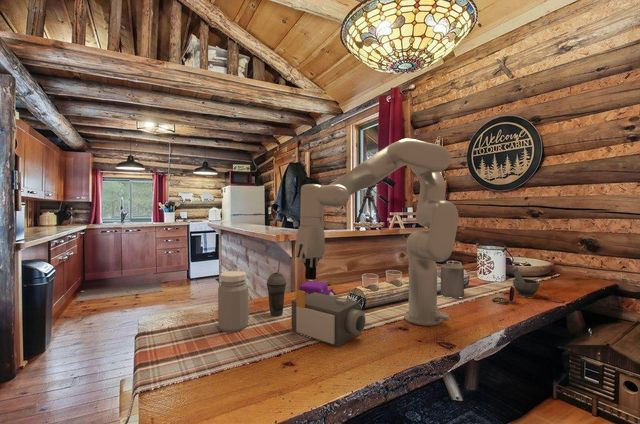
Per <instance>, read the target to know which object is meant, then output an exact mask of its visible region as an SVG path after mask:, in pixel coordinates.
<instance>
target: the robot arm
mask: <svg viewBox="0 0 640 424" xmlns="http://www.w3.org/2000/svg"><path fill="white" fill-rule="evenodd" d="M451 157H452V156H451V153H450V151H449V150H448V149H447V148H446V147H445V146H443V145H439V144H435V143H431V142H427V141H424V140H418V139H414V138H402V139H400V140H398V141H395V142H393V143H390V144H389V145H387V146H385V147H384V148H383V149H381V150H379V151H378V152H376V153H375V154H373V155H372V156H370V157H369V158H367V159H366V160H364V161H362V162H361V163H359V164H358V165H356V166H355V167H354V168H352V169H351V170H350V171H348V172H346V173H345V174H343V175H342V176H340V177H338V178H337V179H336V180H334V181H332V182H330V183H329V184H317V183H307V184H306V183H305V184H303V185H302V186H301V187H300V216H299V219H300V221H299V222H300V223H299V226H298V229H297V234H296V241H295V257H297V258H298V262H299V263H301V264H303V265H304V267H305V271H304V273H305V279H306V280H308V281H309V280H313V281H314V280H316V279H317V267H318V263H319V262H320V261H321V260H322V259H323V256H324V255H325V248H326V244H325V243H326V242H325V241H326V240H325V238H326V237H325V229H324V215H325V214H324V212H325V211H324V210H325V209H324V208H325V207H327V208H333V209H334V208H342V207H344V206H345V205H347V203H349V200H350V196H352V195H354V194H356V193H357V192H359V191H361V190H364V189H367V188H370V187H372V186H374V185H377V184H378V183H379V182H381V181H382V180H383V179H385V178H386V177H388V176H389V175H391V174H392V173H394V172H395V171H397V170H398V169H400V168H402V167H405V166H408V165H409V167H410V170H411V171H412V172H413V174H414V175H415V176H416V178H417V179H418V181H419V184H420V185H419V187H420V188H419V196H418V200H417V206H416V211H415V220H416V222H417V224H418V225H420V226H422V227H424V228H429V230H414V232H412V233H411V234H409V235H408V237H407V240H406V245H405V246H406V252H407V261H408V311H406V312H405V313H404V314H403V316H404V319H405V321H407V322H408V323H412V324H413V325H418V326H426V327H427V326H429V327H430V326H431V327H432V326H437V325H440V324H441V323H442V320H443V321H447V322H449V321H450V320H451V317H450V315H449V313H447V312H442V311H441V310H440V307H439V306H438V267H437V263H439V262H440V263H441V262H444V261H447V260H448V259H449V258H450V256H451V255H452V252H453V250H454V246H455V242H456V236H457V230H458V226H459V212H458V209H457V207H456V205H455V204H454V203H453V202H451V201H450V200H446V199H445V196H446V186H447V185H446V181H445V179H444V177H443V175H442V173H441V172H443V171H445V170H446V169H448V168H449V166H450V164H451V161H452V158H451Z"/></svg>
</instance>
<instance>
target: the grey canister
mask: <svg viewBox="0 0 640 424" xmlns="http://www.w3.org/2000/svg"><path fill="white" fill-rule="evenodd" d="M464 274H465V266H463V265H462V264H457V263H456V264H455V263H453V262H452V263H442V264H441V265H440V296H441V295H443V296H445V297H444V298H446V297H452V298H459V297H463V296H464V297H465V276H464ZM443 296H442V297H443ZM464 297H463V298H464Z"/></svg>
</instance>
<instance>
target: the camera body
mask: <svg viewBox="0 0 640 424" xmlns="http://www.w3.org/2000/svg"><path fill="white" fill-rule="evenodd" d="M305 308H308V309H312V310H316V311H320V312H324V313H327V314H331V315H335V343H334V344H331V343H328V342H325V341H322V340H319V339H316V338H313V337H311V338H310V339H312V338H313V339H312V340H315V339H316V341H318V340H319V341H318V342H321V343H325V344H328V345H330V346H334V347H336V348H339V347H341V346H342V345H344V344H345V343H347V342H348V341H350V340H351V339H353V338H354V337H356V336H360V335H362V333H363V331H364V329H365V326H366V314H365V312H364V311H363V310H360V301H357V300H352V299H348V298H343V297H339V296H335V295H334V296H330V295H325V294H321V293H316V292H314V293H311V294H308V295H306V296H305ZM291 332H292V333H295V334H297V333H298V332H296V298H295V299H292V300H291ZM300 334H301V333H298V335H300ZM303 335H304V334H302V335H301V336H303ZM306 336H307V335H305V336H304V337H306ZM309 337H310V336H308V337H307V338H309Z"/></svg>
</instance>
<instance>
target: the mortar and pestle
mask: <svg viewBox="0 0 640 424" xmlns="http://www.w3.org/2000/svg"><path fill="white" fill-rule="evenodd" d="M511 272H512V273H513V276H514V278H513V280H512V284H513V285H512V286H513V287H514V290H516V291H517V296H518V295H521V296H525V297H534V298H535V294H536V293H537V292H538V290H539V289H540V281H537V280H535V279H530V278H524V277H523V276H522V274H521V273H520V271H519V268H518V267H514V268H511Z"/></svg>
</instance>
